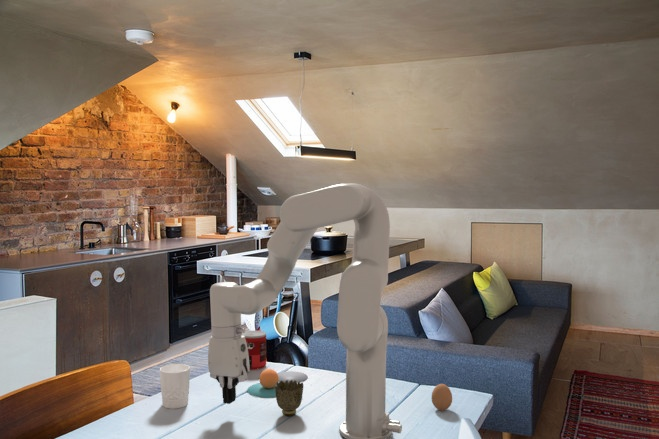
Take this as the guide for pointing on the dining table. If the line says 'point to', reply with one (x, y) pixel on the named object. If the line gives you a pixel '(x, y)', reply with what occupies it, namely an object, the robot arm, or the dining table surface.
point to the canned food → (256, 349)
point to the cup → (289, 396)
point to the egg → (441, 397)
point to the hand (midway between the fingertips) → (229, 401)
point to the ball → (268, 378)
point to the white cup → (175, 385)
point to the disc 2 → (292, 376)
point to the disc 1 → (261, 391)
